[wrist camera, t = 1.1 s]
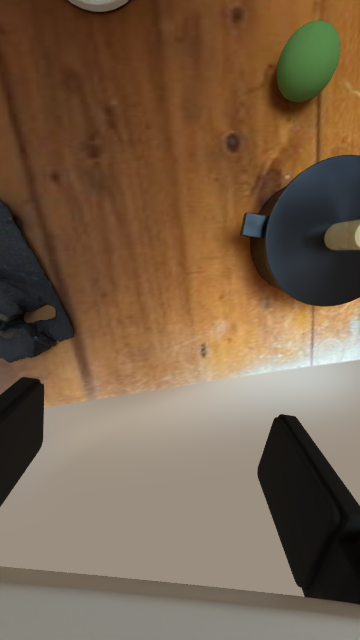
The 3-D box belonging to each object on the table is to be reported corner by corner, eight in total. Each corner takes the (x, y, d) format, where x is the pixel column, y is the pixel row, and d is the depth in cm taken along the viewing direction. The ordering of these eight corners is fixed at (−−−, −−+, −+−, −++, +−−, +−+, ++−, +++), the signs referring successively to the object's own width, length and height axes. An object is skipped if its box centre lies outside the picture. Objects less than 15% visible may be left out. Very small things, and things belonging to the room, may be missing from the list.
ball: (275, 46, 28) (301, -7, 22) (325, 56, 28) (363, 6, 22) (263, 108, 29) (284, 74, 24) (310, 117, 30) (342, 85, 24)
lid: (281, 147, 25) (312, 116, 19) (422, 172, 26) (493, 149, 20) (248, 294, 29) (265, 305, 24) (370, 312, 30) (416, 327, 24)
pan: (243, 169, 31) (261, 146, 24) (389, 194, 32) (446, 179, 26) (221, 281, 35) (232, 288, 28) (352, 300, 36) (393, 312, 29)
